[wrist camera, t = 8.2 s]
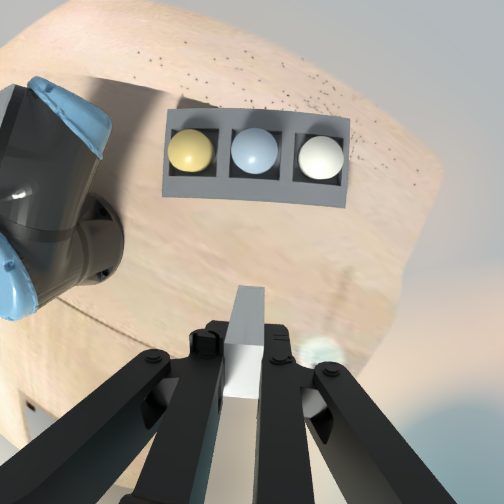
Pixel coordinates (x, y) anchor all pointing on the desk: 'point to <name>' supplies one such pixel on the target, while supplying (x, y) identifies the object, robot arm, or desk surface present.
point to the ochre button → (191, 151)
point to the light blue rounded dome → (254, 150)
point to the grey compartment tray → (265, 184)
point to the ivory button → (320, 158)
